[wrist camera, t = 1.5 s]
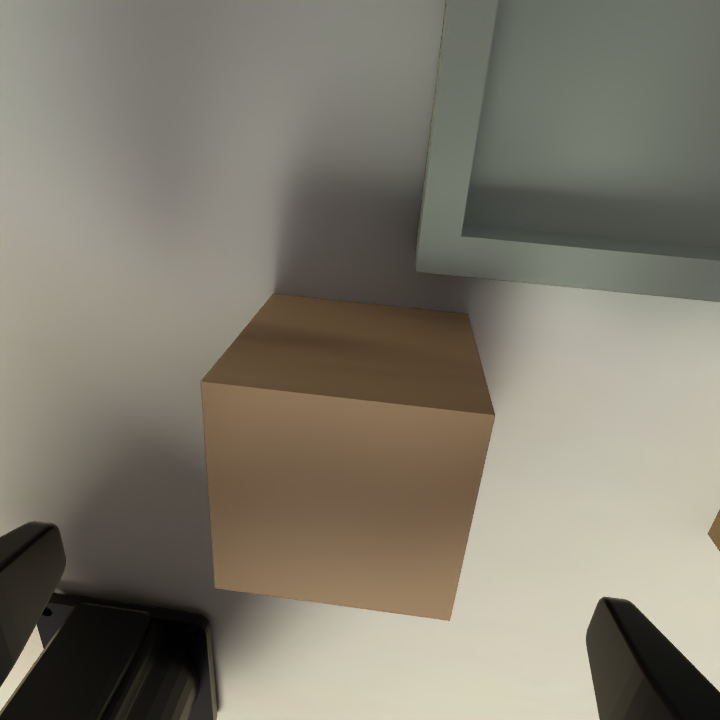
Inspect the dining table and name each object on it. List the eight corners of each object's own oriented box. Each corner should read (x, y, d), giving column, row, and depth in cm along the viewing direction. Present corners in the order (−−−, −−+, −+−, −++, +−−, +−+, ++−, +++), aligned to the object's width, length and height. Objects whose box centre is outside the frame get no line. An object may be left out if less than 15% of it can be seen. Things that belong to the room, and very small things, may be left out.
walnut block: (439, 471, 15) (449, 620, 11) (273, 451, 15) (214, 588, 11) (467, 312, 13) (494, 414, 8) (274, 292, 13) (200, 381, 9)
